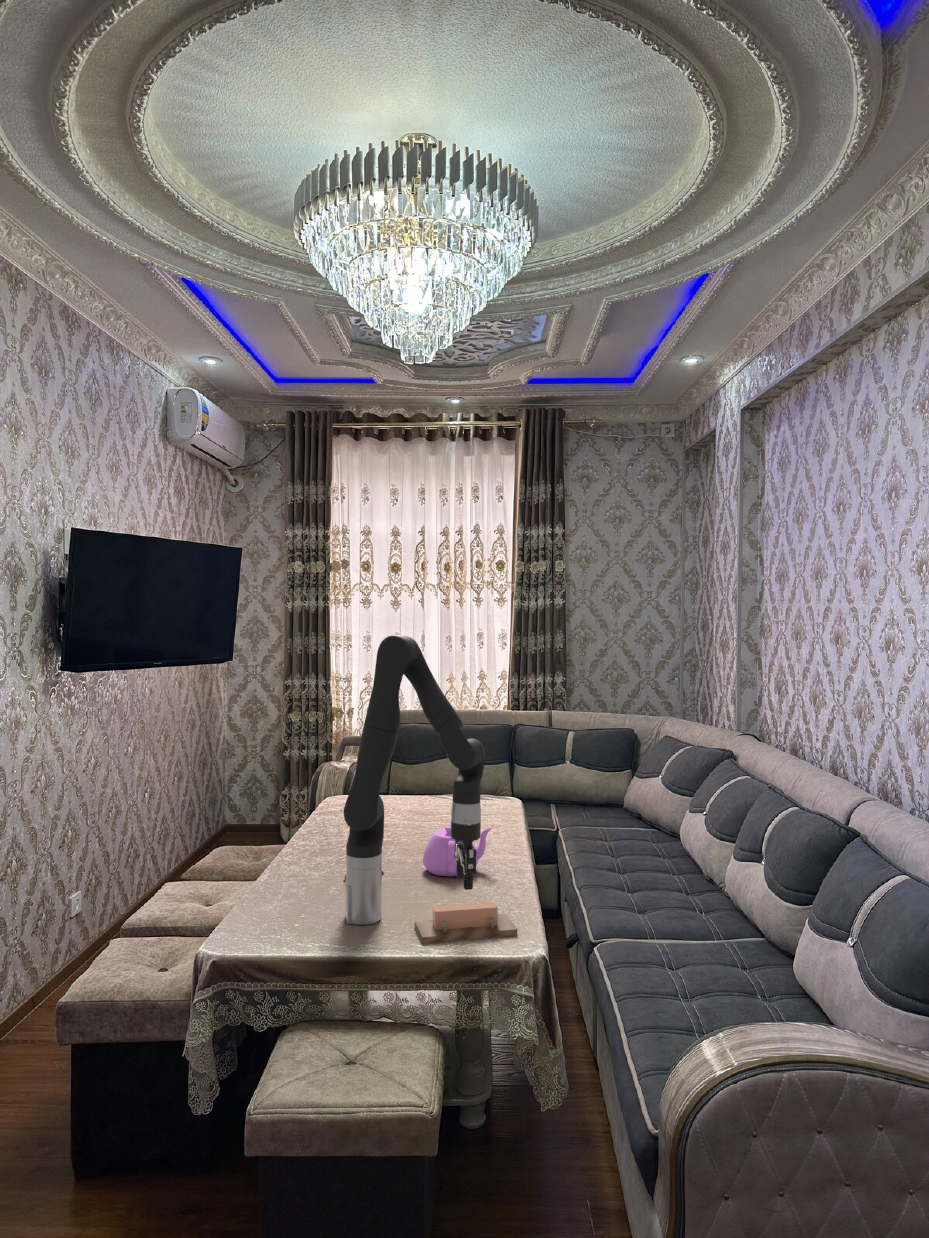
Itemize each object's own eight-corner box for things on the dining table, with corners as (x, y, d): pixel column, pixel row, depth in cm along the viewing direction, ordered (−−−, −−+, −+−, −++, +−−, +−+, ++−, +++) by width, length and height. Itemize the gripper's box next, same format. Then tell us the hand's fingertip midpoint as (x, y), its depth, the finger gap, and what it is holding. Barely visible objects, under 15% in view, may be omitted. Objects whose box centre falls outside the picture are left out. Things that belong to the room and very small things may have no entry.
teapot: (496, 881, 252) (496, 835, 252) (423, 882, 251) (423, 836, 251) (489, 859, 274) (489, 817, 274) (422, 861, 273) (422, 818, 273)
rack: (422, 943, 205) (422, 926, 205) (414, 926, 215) (414, 911, 215) (517, 935, 210) (517, 919, 210) (505, 919, 221) (505, 904, 221)
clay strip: (434, 929, 210) (434, 911, 210) (432, 924, 213) (432, 906, 213) (497, 925, 213) (497, 907, 213) (494, 920, 216) (494, 902, 216)
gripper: (445, 812, 219) (444, 875, 219) (457, 827, 205) (455, 893, 205) (473, 812, 220) (472, 874, 220) (487, 826, 206) (485, 892, 206)
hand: (464, 883), depth 213 cm, fingers open, 8 cm apart
